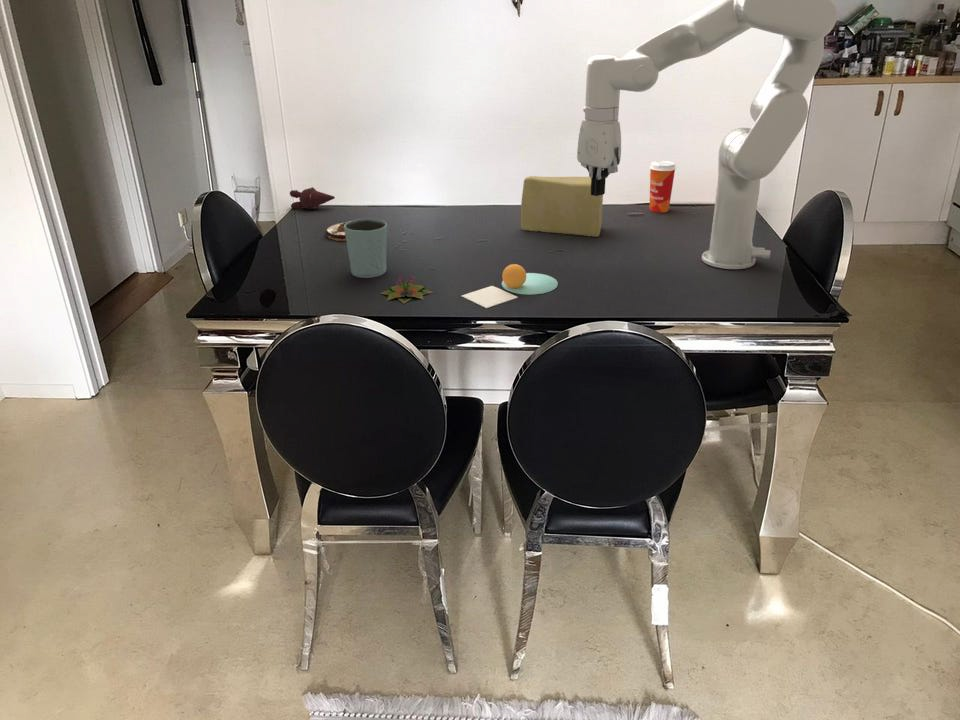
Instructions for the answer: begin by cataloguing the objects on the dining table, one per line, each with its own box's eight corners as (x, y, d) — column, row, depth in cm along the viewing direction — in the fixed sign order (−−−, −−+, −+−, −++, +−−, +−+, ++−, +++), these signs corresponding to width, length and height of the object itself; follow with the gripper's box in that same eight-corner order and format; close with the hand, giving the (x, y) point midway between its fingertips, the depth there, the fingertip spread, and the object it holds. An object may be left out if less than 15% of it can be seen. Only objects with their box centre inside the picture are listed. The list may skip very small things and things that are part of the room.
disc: (562, 276, 177) (562, 275, 177) (551, 296, 166) (551, 296, 166) (509, 271, 180) (509, 271, 180) (495, 291, 169) (495, 290, 169)
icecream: (338, 185, 233) (294, 188, 237) (328, 185, 226) (283, 188, 230) (340, 208, 235) (297, 210, 238) (330, 209, 228) (286, 211, 231)
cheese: (518, 235, 206) (518, 180, 199) (524, 224, 214) (524, 172, 208) (598, 238, 202) (601, 183, 195) (601, 227, 210) (604, 174, 203)
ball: (499, 283, 167) (512, 296, 171) (520, 271, 166) (532, 285, 169) (496, 266, 171) (508, 280, 175) (516, 255, 169) (528, 269, 173)
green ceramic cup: (345, 267, 186) (340, 221, 180) (384, 262, 189) (380, 215, 183) (354, 281, 177) (348, 232, 172) (395, 275, 180) (391, 227, 175)
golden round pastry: (344, 248, 201) (342, 233, 199) (312, 237, 210) (310, 223, 208) (386, 235, 210) (385, 221, 208) (354, 225, 219) (352, 211, 217)
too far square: (492, 286, 172) (492, 285, 172) (517, 297, 166) (517, 296, 166) (461, 296, 167) (461, 295, 167) (486, 308, 161) (486, 307, 161)
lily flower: (369, 296, 170) (367, 277, 168) (410, 281, 178) (408, 263, 176) (403, 310, 163) (401, 291, 161) (443, 294, 170) (442, 276, 168)
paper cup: (641, 208, 226) (644, 161, 219) (663, 205, 228) (668, 159, 221) (654, 215, 219) (658, 167, 213) (677, 212, 221) (682, 164, 215)
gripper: (566, 112, 172) (564, 191, 180) (614, 120, 161) (610, 204, 170) (589, 108, 176) (586, 186, 184) (638, 116, 165) (632, 197, 174)
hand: (597, 194), depth 177 cm, fingers closed
